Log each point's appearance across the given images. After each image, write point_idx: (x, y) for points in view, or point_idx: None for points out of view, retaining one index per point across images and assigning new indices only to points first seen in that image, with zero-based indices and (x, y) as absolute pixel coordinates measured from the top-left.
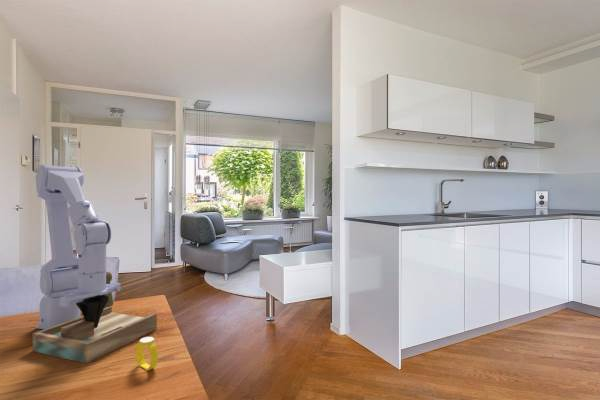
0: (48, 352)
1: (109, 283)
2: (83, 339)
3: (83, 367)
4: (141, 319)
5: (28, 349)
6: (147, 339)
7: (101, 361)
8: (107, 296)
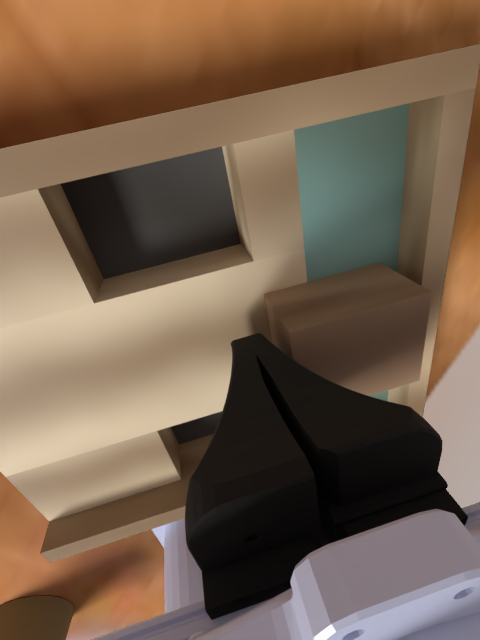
0: None
1: None
2: (327, 275)
3: (427, 36)
4: None
5: None
6: None
7: (348, 7)
8: (193, 544)
